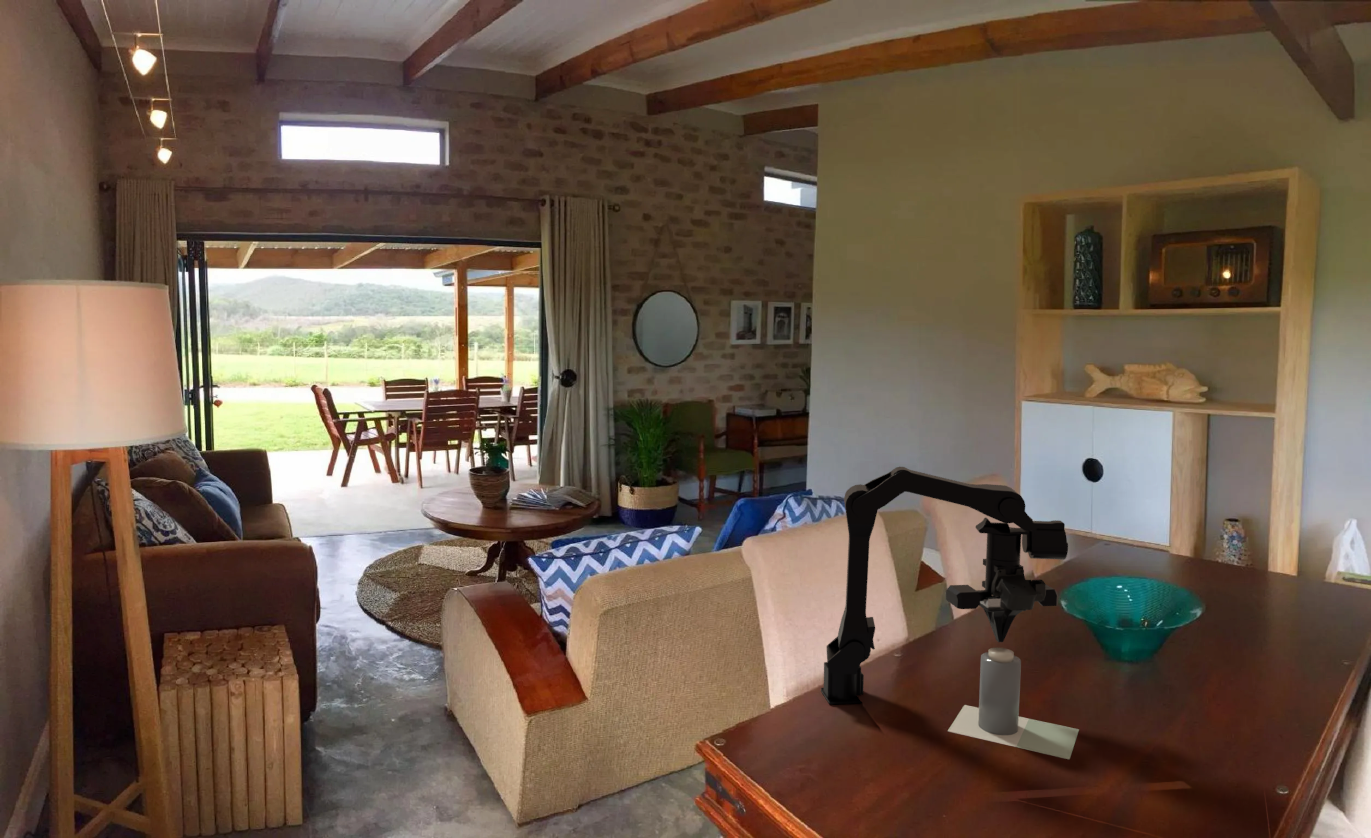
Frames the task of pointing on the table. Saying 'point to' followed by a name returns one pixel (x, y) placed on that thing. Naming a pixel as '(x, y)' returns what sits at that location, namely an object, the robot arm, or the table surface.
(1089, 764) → the table surface
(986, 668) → the jar
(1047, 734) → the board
